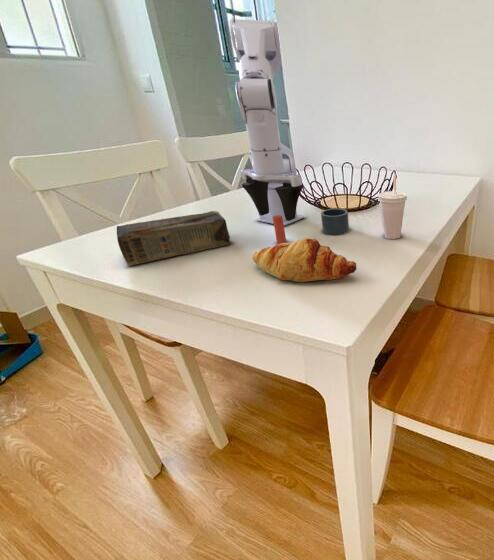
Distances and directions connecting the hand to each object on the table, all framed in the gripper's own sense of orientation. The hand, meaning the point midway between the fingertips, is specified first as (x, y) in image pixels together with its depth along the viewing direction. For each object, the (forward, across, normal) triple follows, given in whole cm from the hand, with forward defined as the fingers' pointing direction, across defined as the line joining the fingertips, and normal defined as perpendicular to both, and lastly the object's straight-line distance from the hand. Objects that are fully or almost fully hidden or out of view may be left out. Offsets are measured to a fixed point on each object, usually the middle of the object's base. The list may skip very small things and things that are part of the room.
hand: (277, 216), depth 73 cm
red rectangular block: (+6, 0, 0) cm, 6 cm away
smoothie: (+6, +20, +15) cm, 26 cm away
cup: (+6, +6, +12) cm, 15 cm away
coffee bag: (+6, -16, -13) cm, 22 cm away
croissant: (+6, +14, -9) cm, 18 cm away
